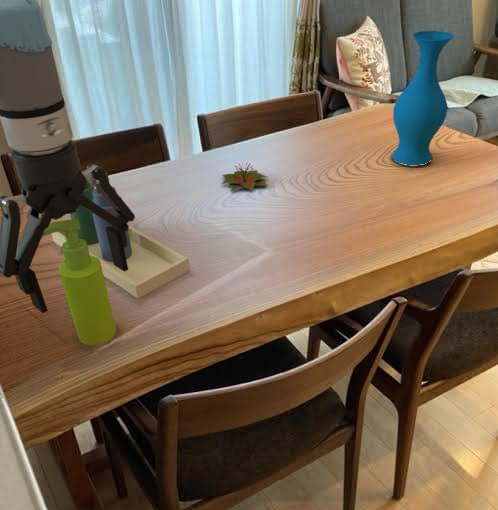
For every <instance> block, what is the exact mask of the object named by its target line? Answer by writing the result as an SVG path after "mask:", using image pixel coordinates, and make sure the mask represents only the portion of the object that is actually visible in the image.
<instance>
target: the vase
mask: <svg viewBox="0 0 498 510" xmlns="http://www.w3.org/2000/svg"><path fill="white" fill-rule="evenodd" d="M454 37H455V36H454V34H452V33H450V32H446V31H441V30H440V31H439V30H422V31H418V32H415V33H413V34H412V38H413V39H414V40H415V42H416V44H417V46H418V49H419V63H418V67H417V70H416V73H415V75H414V77H413V78H412V80H411V81H410V82H409V84H408V85H407V86H406V87H405V89H404V90H402V92H401V93H400V94H399V95H398V97H397V99H396V101H395V103H394V106H393V111H392V117H393V124H394V126H395V129H396V133H397V135H398V136H397V137H398V144H397V148H396V149H395V150H394V151H393V153H392V154H391V156H392V157H391V159H392V158H393V159H394V160H395V161H397V162H399V163H397V162H395V161H394V160H393V159H392V160H393V161H394V162H395V163H396V164H398V165H401V166H405V167H411V168H412V167H413V168H415V167H416V168H417V167H419V166H409V165H420V164H425V163H427V162H429V161H430V160H432V161H433V155H432V153H431V151H430V146H431V142H432V140H433V138H434V137H435V136H436V134H437V133H438V131H439V130H441V127H442V126H443V124H444V122H445V120H446V118H447V114H448V103H447V99H446V96H445V94H444V92H443V90H442V87H441V86H440V83H439V80H438V74H437V67H438V62H439V57H440V55H441V52H442V50H443V49H444V48H445V46H446V45H447V44H448V43H450V41H451V40H452V39H454ZM400 163H403V164H407V165H403V164H400ZM429 164H430V163H428V164H426V165H421V166H420V167H424V166H427V165H429Z"/></svg>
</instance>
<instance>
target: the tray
mask: <svg viewBox="0 0 498 510" xmlns="http://www.w3.org/2000/svg"><path fill="white" fill-rule="evenodd" d="M128 226H129V228H128V233H129V238H130V243H131V249H132V255H131V256H130V257H129V258H128V259H126V260H127V265H128V270H127V271H125V272H124V271H123V270H121V269H119V268H118V267H116V266H115V265H114V263H113V262H109V261H106V260H104V259H103V257H102V253H101V249H100V244H99V243H96V244H93V245H87V247H88V251H89V255H91V256H95V257H97V258H98V259H99V260H100V262H101V266H102V270H103V275H104V278H106V279H108V280H110V281H111V282H112V283H114V284H115V285H117V286H118V287H120V288H122V289H123V290H124V291H126V292H128V293H129V294H130V295H132V296H133V297H135V298H136V299H140V298H142V297H144V296H145V295H148V294H149V293H152V292H153V291H155V290H156V289H159V288H161V287H162V286H164V285H165V284H167V283H169V282H172V281H173V280H175V279H178V278H179V277H180V276H182V275H184V274H186V273H188V272H189V271H190V260H189V257H186V256H185V255H183V254H181V253H180V252H178V251H176V250H174V249H172V248H170V247H169V246H167V245H165V244H163V243H162V242H160V241H158V240H156V239H155V238H153V237H151V236H149V235H147V234H146V233H144V232H142V231H140V230H138V229H137V228H135V227H133V226H131V225H130V224H128ZM51 237H52V240H53V242H54V243H55V244H56V245H57V246H59V247H61V248H62V244H63V243H64V242H66V238H65V234H64V231H60V232H54V233H51Z"/></svg>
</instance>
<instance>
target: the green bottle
mask: <svg viewBox="0 0 498 510" xmlns="http://www.w3.org/2000/svg"><path fill="white" fill-rule="evenodd" d="M80 161H81V160H79V162H80ZM80 163H81V162H80ZM80 166H81V164H80ZM80 170H81V172H83V170H82V166H81V168H80ZM94 189H96V187H95V186H94V185H93V184H91V183H89V182H88V181H87V183H86V187H85V190H84V193H83V196H85V197H86V198H88V199H89V200H92V199H94V198H93V193H92V192H93V190H94ZM69 217H70V220H71V219H79V224H80V229H77V233H78V237H79V239H83V240H85V241H86V243H87V245H93V244H96V243H99V240H98V236H97V232H96V227H95V223H94V219H93V214H92V212H90V211H89V210H87V209H85V208H84V207H82V206H81V205H79V207H78V208H77V209H76V212H74V213H71V214H69Z"/></svg>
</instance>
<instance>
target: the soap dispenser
mask: <svg viewBox="0 0 498 510" xmlns="http://www.w3.org/2000/svg"><path fill="white" fill-rule="evenodd" d="M77 229H80V224H79V219H71V218H70V219H63V220H55V221H51V222H50V224H49V227H48V228H46V229H45V230H44V233H43V235H42V237H44V236H48V235H51V234H52V233H54V232H60V231H64V234H65V238H66V242H64V243H63V244H62V247H61V250H62V251H61V252H62V255H63V258H64V261H62V262H61V263H60V264H59V266H58V269H57V270H58V274H59V278H60V281H61V284H62V287H63V291H64V295H65V298H66V301H67V304H68V308H69V310H70V314H71V318H72V322H73V324H74V327H75V331H76V334H77V338H78V340H79V342H81V343H82V344H84V345H88V346H99V345H102V344H103V345H102V347H105V346H107V345H108V344H109V345H110V343H112V342H113V340H114V339H113V338H114V337H115V335H116V334H117V326H116V323H115V318H114V314H113V310H112V304H111V301H110V297H109V291H108V287H107V284H106V279H105V276H104V275H103V270H102V266H101V262H100V260H99V259H98V258H97V257H95V256H91V255H89V251H88V247H87V243H86V241H85V240H83V239H79V237H78V233H77Z"/></svg>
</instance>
